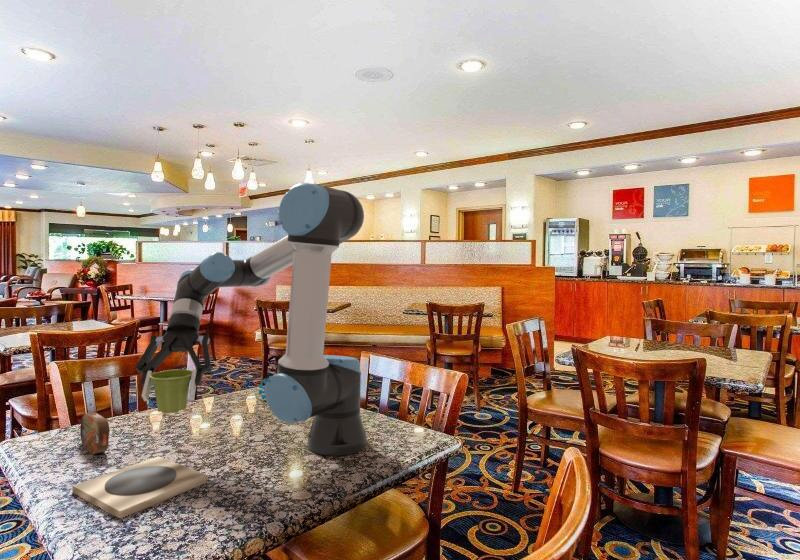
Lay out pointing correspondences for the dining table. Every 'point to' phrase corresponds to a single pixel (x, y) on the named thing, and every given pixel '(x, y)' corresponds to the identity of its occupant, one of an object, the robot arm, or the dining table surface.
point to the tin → (94, 433)
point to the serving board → (138, 486)
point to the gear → (263, 388)
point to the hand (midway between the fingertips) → (168, 397)
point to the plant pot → (171, 389)
